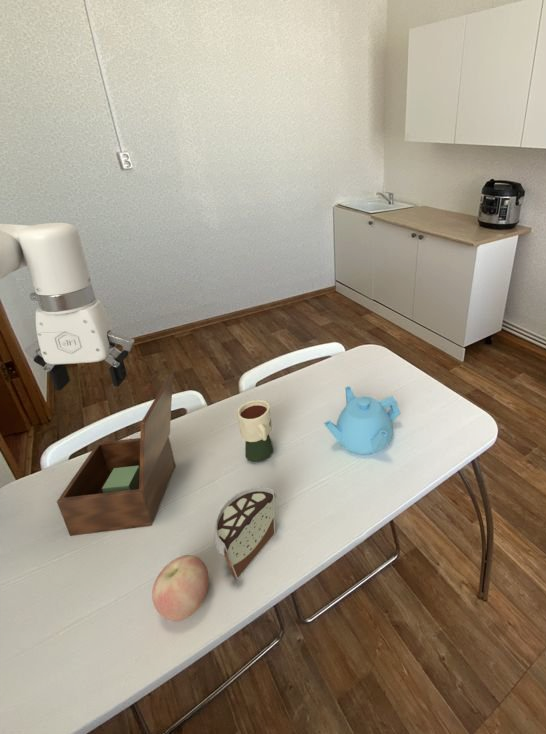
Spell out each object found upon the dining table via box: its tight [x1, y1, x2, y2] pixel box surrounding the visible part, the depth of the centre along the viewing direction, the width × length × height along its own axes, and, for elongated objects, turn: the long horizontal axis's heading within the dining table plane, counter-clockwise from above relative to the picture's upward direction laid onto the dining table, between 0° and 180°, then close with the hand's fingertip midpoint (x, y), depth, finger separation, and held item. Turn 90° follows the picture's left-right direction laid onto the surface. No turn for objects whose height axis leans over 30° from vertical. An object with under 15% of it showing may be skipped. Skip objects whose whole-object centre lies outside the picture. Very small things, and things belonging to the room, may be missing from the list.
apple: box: [151, 554, 210, 622], centre depth 60 cm, size 8×8×8 cm
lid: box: [139, 373, 174, 490], centre depth 75 cm, size 15×15×1 cm
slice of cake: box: [213, 486, 278, 581], centre depth 68 cm, size 12×6×10 cm, turn 149°
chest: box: [56, 436, 176, 537], centre depth 78 cm, size 15×15×9 cm
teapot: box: [323, 385, 401, 456], centre depth 93 cm, size 15×15×11 cm
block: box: [102, 466, 140, 493], centre depth 78 cm, size 5×5×5 cm
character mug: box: [236, 399, 274, 463], centre depth 88 cm, size 11×7×13 cm, turn 37°
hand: (92, 384), depth 70 cm, fingers open, 9 cm apart
